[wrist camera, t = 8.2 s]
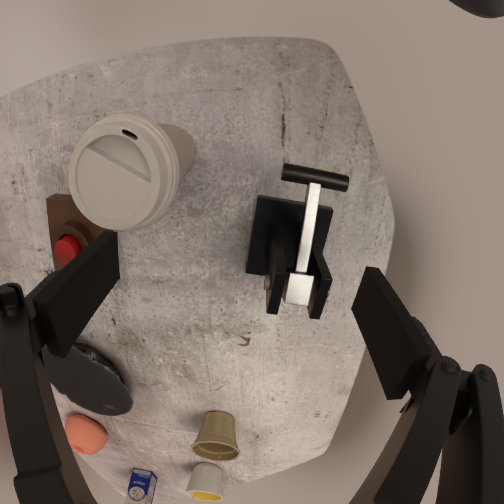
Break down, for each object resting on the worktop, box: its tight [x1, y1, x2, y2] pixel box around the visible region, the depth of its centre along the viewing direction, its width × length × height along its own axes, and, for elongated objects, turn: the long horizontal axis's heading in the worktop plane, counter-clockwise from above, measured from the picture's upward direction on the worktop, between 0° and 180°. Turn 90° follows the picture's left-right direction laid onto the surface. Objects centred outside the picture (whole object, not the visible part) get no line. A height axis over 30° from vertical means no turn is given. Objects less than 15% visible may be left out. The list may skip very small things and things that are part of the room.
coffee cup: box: [68, 113, 195, 231], centre depth 26 cm, size 10×10×15 cm
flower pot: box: [191, 411, 240, 462], centre depth 51 cm, size 9×9×9 cm
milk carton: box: [124, 468, 157, 504], centre depth 66 cm, size 7×7×20 cm
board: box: [42, 343, 133, 416], centre depth 48 cm, size 22×22×5 cm
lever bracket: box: [246, 195, 333, 319], centre depth 31 cm, size 10×9×13 cm
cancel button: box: [55, 235, 82, 265], centre depth 34 cm, size 4×4×2 cm
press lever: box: [281, 163, 349, 306], centre depth 27 cm, size 12×6×2 cm, turn 171°
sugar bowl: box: [65, 415, 107, 455], centre depth 57 cm, size 12×14×10 cm
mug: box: [186, 463, 224, 501], centre depth 63 cm, size 14×10×10 cm
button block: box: [46, 194, 113, 271], centre depth 36 cm, size 12×10×4 cm
